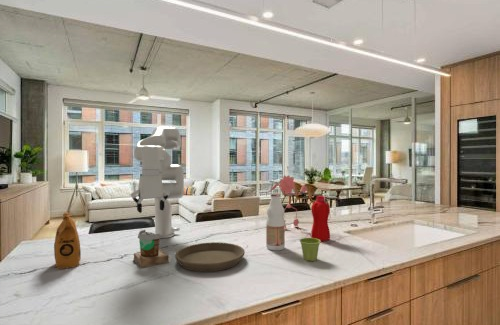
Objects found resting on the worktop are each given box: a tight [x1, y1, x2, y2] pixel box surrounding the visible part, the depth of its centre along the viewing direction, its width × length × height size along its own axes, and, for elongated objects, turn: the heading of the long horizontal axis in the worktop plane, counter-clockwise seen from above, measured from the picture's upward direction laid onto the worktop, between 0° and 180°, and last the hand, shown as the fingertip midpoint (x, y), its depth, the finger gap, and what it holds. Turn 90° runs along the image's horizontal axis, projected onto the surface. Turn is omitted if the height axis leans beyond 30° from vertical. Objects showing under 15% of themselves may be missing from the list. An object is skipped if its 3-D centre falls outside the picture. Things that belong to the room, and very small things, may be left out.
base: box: [133, 248, 170, 269], centre depth 131 cm, size 12×12×3 cm
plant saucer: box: [174, 241, 245, 273], centre depth 132 cm, size 31×31×5 cm
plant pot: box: [299, 237, 321, 262], centre depth 133 cm, size 9×9×9 cm
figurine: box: [269, 175, 308, 231], centre depth 196 cm, size 15×26×35 cm, turn 113°
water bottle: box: [310, 195, 331, 243], centre depth 165 cm, size 9×11×25 cm
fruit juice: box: [265, 192, 286, 251], centre depth 150 cm, size 9×9×28 cm
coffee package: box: [53, 212, 82, 270], centre depth 127 cm, size 10×12×22 cm
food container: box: [137, 229, 161, 257], centre depth 129 cm, size 12×6×10 cm, turn 51°
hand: (151, 211), depth 131 cm, fingers open, 9 cm apart
